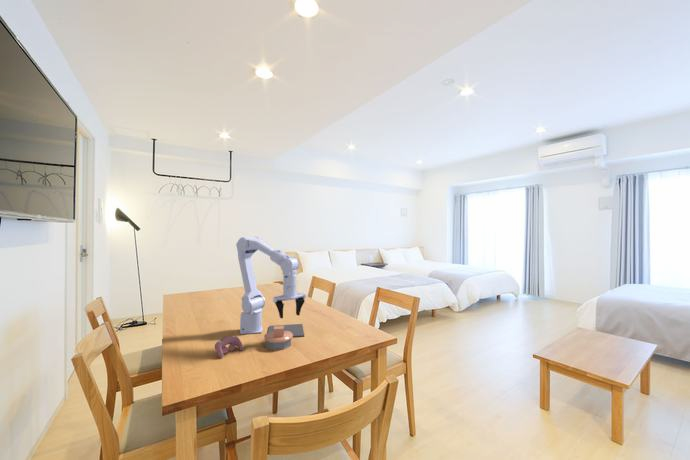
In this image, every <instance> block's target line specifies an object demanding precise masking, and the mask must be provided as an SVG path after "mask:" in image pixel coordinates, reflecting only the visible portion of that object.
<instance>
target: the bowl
mask: <svg viewBox="0 0 690 460" xmlns="http://www.w3.org/2000/svg"><path fill="white" fill-rule="evenodd" d="M291 346H292V339H291V340H289V341H286V342H282V343H270V342H267V341H265V348H267V349H269V350H273V351H276V350H285V349H287V348H289V347H291Z"/></svg>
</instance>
